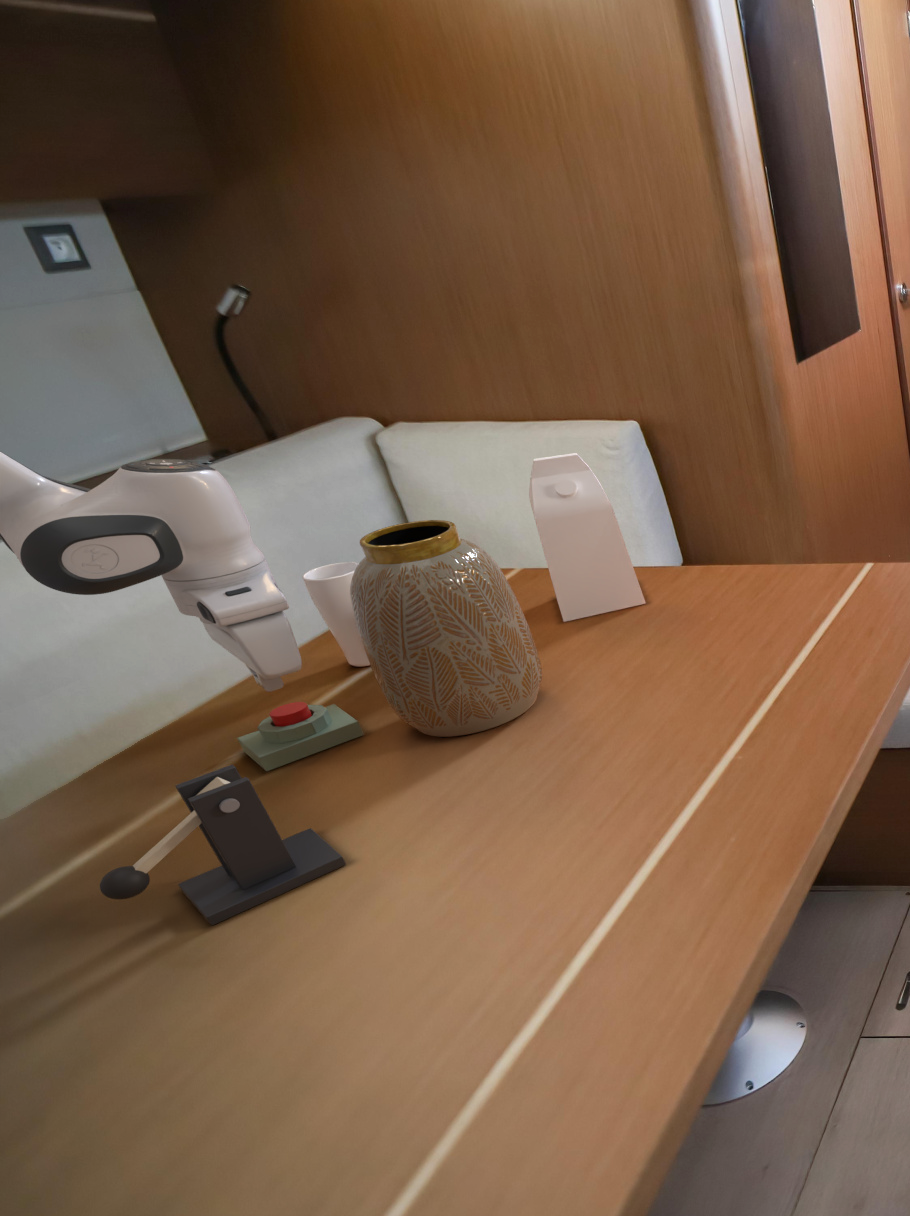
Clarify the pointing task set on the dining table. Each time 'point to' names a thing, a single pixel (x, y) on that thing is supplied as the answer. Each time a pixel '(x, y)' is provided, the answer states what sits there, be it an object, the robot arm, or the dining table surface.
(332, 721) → the green button base
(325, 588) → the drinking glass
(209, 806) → the lever on stand
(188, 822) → the lever switch
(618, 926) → the dining table surface
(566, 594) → the milk
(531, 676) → the vase
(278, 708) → the power button
